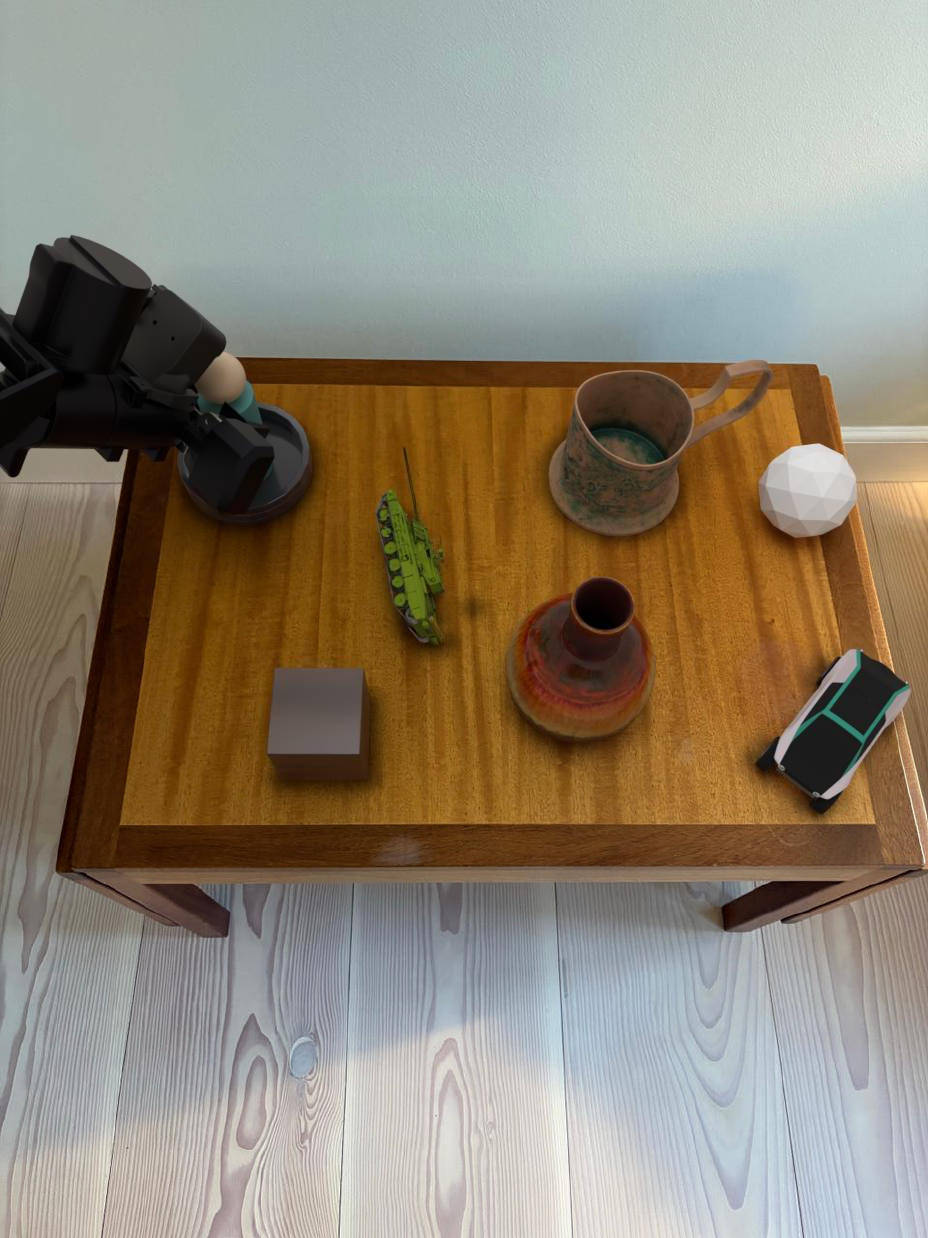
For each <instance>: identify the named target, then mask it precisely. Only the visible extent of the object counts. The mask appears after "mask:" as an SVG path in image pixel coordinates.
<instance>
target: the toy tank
mask: <svg viewBox="0 0 928 1238" xmlns="http://www.w3.org/2000/svg"><path fill="white" fill-rule="evenodd" d="M402 453H403V457H404V463H405V467H406V473H407V478H408V482H409V490H410V493H411V499H412V505H413V511H414V516H415V517H413V516H410V521H409V519H408V517H409V515H408V513H406V512H405V510H404V509H403V507H402V505H401V503H400V501H399V498H398V496H397V494H396V493H395V491H394V489H392V488H391V489H389V490H388V491H386V492H384V493H383V494H382V495H381V496H380V499H379V502H378V505H377V506H376V507H377V508H376V510H375V518H376V522H377V526H378V532H379V536H380V542H381V547H382V551H383V556H384V561H385V566H386V573H387V576H388V583H389V586H390V592H391V598H392V603H393V607H394V608H395V609H396V611H398V613H399V614H400V615H401V616H402V617H403V618H404V623H405V625H406V627H407V629H408V630H410V632H411V633H412V634H413V635H414V636H415V638H416V640H418V641H419V643H429V644H431V645H432V644H433V645H434V646H436V645H437V646H439V644H440V643H441V644H442V643H445V641H446V640H447V639H446V637H445V635H444V633H442V630H441V629H440V627H439V625H438V622H437V616H436V613H435V611H437V608H436V604H435V600H434V596H436V595H442V594H444V593H445V592H446V591H445V587H444V581H443V580H442V576H443V575H445V574H447V573H451V570H450V571H446V572H443V573H442V571H441V564H440V563H442V564H444V563H445V552H444V551H443V547H442V543H438V544H437V548H438V549H437V552H436V554H435V550H434V546H433V544H434V541H432V540H431V538H430V535H429V534H428V527H426V525H423V523H421V520H420V516H419V511H418V506H417V501H416V495H415V490H414V485H413V480H412V475H411V470H410V464H409V460H408V454H407V449H406V446H405V444H404V445H403V447H402ZM369 514H371V513H369ZM381 525H382V526H381ZM485 537H486V536H485ZM442 540H443V539H442V538H441V535H439V542H442ZM384 541H385V542H384ZM439 559H440V562H439ZM391 575H392V576H391ZM394 593H395V594H394ZM433 595H434V596H433ZM402 611H403V612H402ZM413 629H414V630H415V631H416V632H414V631H413Z"/></svg>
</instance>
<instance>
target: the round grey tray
mask: <svg viewBox="0 0 928 1238" xmlns="http://www.w3.org/2000/svg"><path fill="white" fill-rule="evenodd" d="M256 402H257V406H258V410H259V413H260V417H261V420H262V424H263V425H265V426H267V427H269V428H270V431H269V433H268V435H267V437H266V439H267V441H268V442H269V443H270V444H271V445H272V446H273V449H274V455H275V458H274V460H273V468H272V471H271V473H270V475H269V476H268V478H267V479H266V480H264V481H263V482H262V484H261V486H260V488H259V489H258V491H257V493H256V495H255V497H254V499H253V501H252V503H251V505H250V507H249V509H248V511H247V513H246V514H243V515H236V516H223V517H220V516H219V515H218V514H217V513H216V512H215V511H214V510H213V509H212V508H211V507H210V506H209V505H208V504H207V503H206V502H205V501H204V500H203V499H202V498H201V497H200V496H199V495H198V494H197V493H195V492H194V491H193V490H192V488H191V486H190V484H189V482H188V480H187V479H188V477H189V475H190V472H191V470H192V468H193V466H194V464H195V462H196V460H197V457H198V456H197V455H196V454H195V453H194V452H193V451H192V450H191V449H190V451H189V453H188V454H187V455H183V454H181V453H180V452H179V451H178V454H177V459H176V465H177V469H178V473H179V477H180V480H181V482H182V484H183V487H184V489H185V490H186V491H185V492H186V493H187V494H188V495H189V498H190V499H191V501H192V502H193V503H194V505H195V506H196V507H197V508H198V509H199V510H200V511H202V512H203V513H204V514H206V516H209V517H211V518H212V519H215V520H217V521H220V522H221V523H222V522H223V523H226V524H231V525H241V526H247V525H255V524H261V523H264V522H268V521H271V520H274V519H276V518H278V517H280V516H282V515H284V514H286V513H287V512H288V511H290V510H291V509H292V508H293V507H294V506H296V505H297V504H298V503H299V501H300V500H301V499H302V498H303V496H304V495H305V493H306V492H307V490H308V488H309V486H310V484H311V481H312V477H313V471H314V470H313V454H312V451H311V447H310V443H309V440H308V436H307V434H306V431H305V429H304V428H303V426H302V425H301V423H300V422H299V421H298V420H297V419H296V417H294V416H293V415H291V414H290V413H288V412H287V411H285V410H283V409H282V408H280V407H278V406H275V405H272V404H269V403H264V402H260V401H256Z"/></svg>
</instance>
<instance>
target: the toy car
mask: <svg viewBox="0 0 928 1238" xmlns="http://www.w3.org/2000/svg"><path fill="white" fill-rule="evenodd" d="M863 651H864V650H863V649H861V650H860V649H855V648H850V649H849V650H847V651H846V652H845V653H844V654H843V655H842V656H837V657H836V658H834V660H833V661H831V663H829V665H828V666H827V667H826V668H825V670H824V671H823V672H822V674H821V675H820V677H819V678H818V679H817V681H816V684H817V685H818V686H819V687H818V688H817V690H816V691H815V692H814V693H813V694H812V695H811V696H810V698H809V699H808V700H807V701H806V703H805V704H804V705H803V707H802V708H801V710H799V712H798V713H797V714H796V716H795V717H794V718H793V720H792V722H791V723H790V724H789V725H788V726H787V727H786V728H785V729H784V731H783V733H782V734H781V735H779V736H776V737H775V738H774V739H773V740H772V741H771V742H770V743H769V744H768V745H767V746H766V748H764V750H763V751H762V752H761V754H760V755H759V756H758V758H757V760H756V761H755V765H756V766H757V767H758V768H759V769H760V770H762V771H764V772H766V773H767V772H768V771H769V770H771V768H772V767H773V766H774V765H777V767H776V769H775V770H776V771H777V772H779V773H780V774H781V775H782V776H783V777H785V778H786V779H787V780H788V781H790V782H791V783H792V784H793V785H794V786H796V787H797V788H799V789H800V790H802V791H803V792H804V793H806V794H807V795H808V796H809V797H811V798H812V800H811V801H810V804H809V807H810V808H811V809H812V810H813V811H814V812H816V813H817V814H818V815H825V813H826V812H828V811H829V810H830V809H831V807H833V806H834V804H835V803H836V802H837V801H838V800H839V798H840V797H841V795H842V794H843V792H844V790H846V788H847V787H848V786H849V785H850V783H851V781H852V779H853V777H854V775H855V773H856V772H857V770H858V768H859V766H860V765H861V764H862V762H863V760H864V759H865V758H866V756H867V755H868V753H869V751H870V750H871V749H872V747H873V746H874V744H875V743H876V742H877V740H878V738H879V737H880V736H881V735H882V733H883V732H884V730H885V728H887V727H888V726H890V725H891V724H892V722H893V721H894V720H895V719H896V717H897V716H898V715H899V714H900V712H902V710H903V708H904V707H905V705H906V704H907V701H908V700H909V698H910V696H911V693H912V690H911V687H910V685H909V684H908V683H909V681H904V680H902V679H901V678H900V677H898V676H897V674H896V673H895V672H894V671H893V670H892V669H891V668H889V666H887V665H886V664H884V663H883V662H881V661H879V660H877V659H875V658H872V657H870V656H869V655H867V654H866V653H865V652H863Z"/></svg>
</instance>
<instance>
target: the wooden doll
mask: <svg viewBox="0 0 928 1238" xmlns="http://www.w3.org/2000/svg"><path fill="white" fill-rule="evenodd" d="M194 385H195V387H196V389H197V391H198V394H197V395H198V396H199V398H198V401H197V402H198V406H199V408H200V411H201V413H202V414H204V413H205V412H213V413H214V414H216V415H219V412H220V410H221V408H222V406H223V404H224V402H225V401H226V402H227V403H228V404H229V405H231V406H232V407H233V408H234V409H235V410H236V411H237V412H238V413H239V414H240V415H242V416H243V417H244V418H245V419H246V420H247V421H250V422H255V423H259V424H262V420H261V417H260V413H259V410H258V406H257V402H258V401H257V399H256V395H255V392H254V391H255V390H254V388H253V386H252V384H251V383H250V382H249V381H248V380H247V375H246V372H245V368H244V366H243V365H242V363H241V362H240V360H239V359H238V358H237V357H236V356H234V355H233V354H231V353H229V352H227V351H223V352H222V354H221V355H220V356H219V357H216V358H215V360H214V361H213V362H212V363H211V365H210V366H209V367H208V368H207V370H206V371H205V372H204V373H203V375H202V376H201V377H200V379H199V380H198V381H197V382H196V383H195V384H194ZM262 425H263V424H262ZM265 440H266V441H267V439H265ZM272 468H273V462H272V464H271V466H270V468H269V470H268V472H267V474H266V476H265V478H264V480H266V479H267V478H268V476H269V475H270V473H271V471H272ZM264 480H263V481H264Z"/></svg>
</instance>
